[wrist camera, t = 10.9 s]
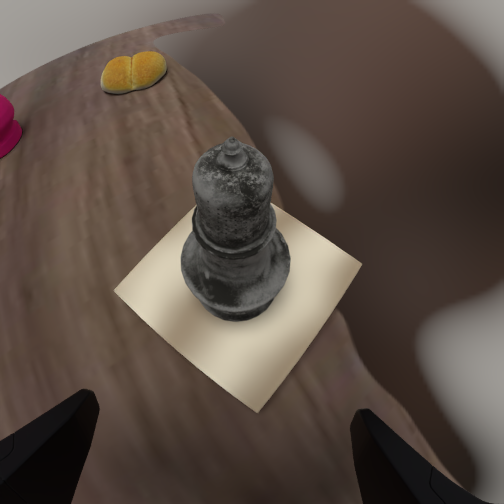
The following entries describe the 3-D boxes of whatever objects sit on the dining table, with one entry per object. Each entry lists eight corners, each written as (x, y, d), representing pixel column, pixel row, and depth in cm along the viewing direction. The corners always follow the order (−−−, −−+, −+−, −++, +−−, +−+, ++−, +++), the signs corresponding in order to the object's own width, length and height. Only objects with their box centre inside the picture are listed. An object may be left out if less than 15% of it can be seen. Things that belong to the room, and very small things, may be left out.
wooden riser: (350, 277, 22) (362, 264, 20) (255, 410, 18) (257, 413, 16) (228, 194, 25) (227, 175, 23) (126, 301, 21) (113, 290, 19)
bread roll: (168, 86, 33) (163, 60, 29) (101, 102, 32) (93, 78, 28) (167, 59, 36) (164, 37, 33) (109, 73, 35) (103, 52, 32)
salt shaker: (267, 232, 21) (290, 78, 10) (294, 312, 19) (364, 197, 8) (183, 251, 20) (134, 104, 9) (201, 336, 18) (140, 246, 7)
